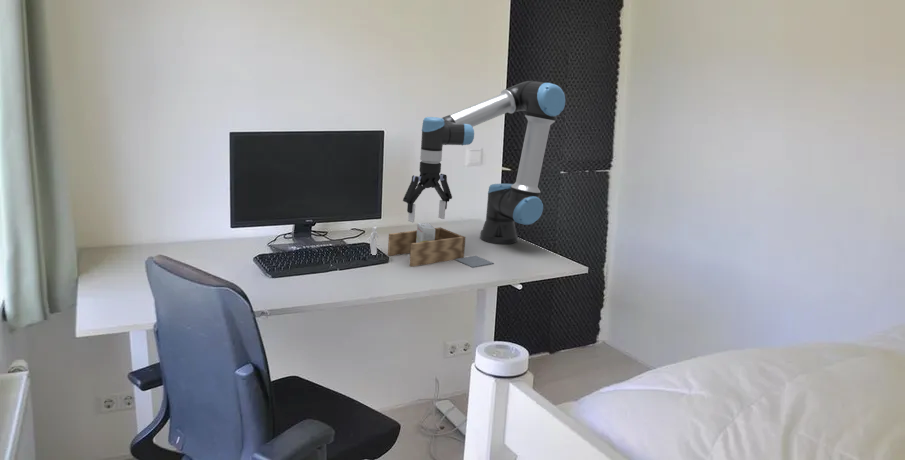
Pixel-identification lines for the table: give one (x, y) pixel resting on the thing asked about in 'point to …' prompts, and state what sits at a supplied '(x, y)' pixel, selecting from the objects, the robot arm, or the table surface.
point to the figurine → (373, 241)
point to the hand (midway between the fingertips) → (426, 220)
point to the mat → (474, 261)
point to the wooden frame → (427, 247)
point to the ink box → (425, 232)
